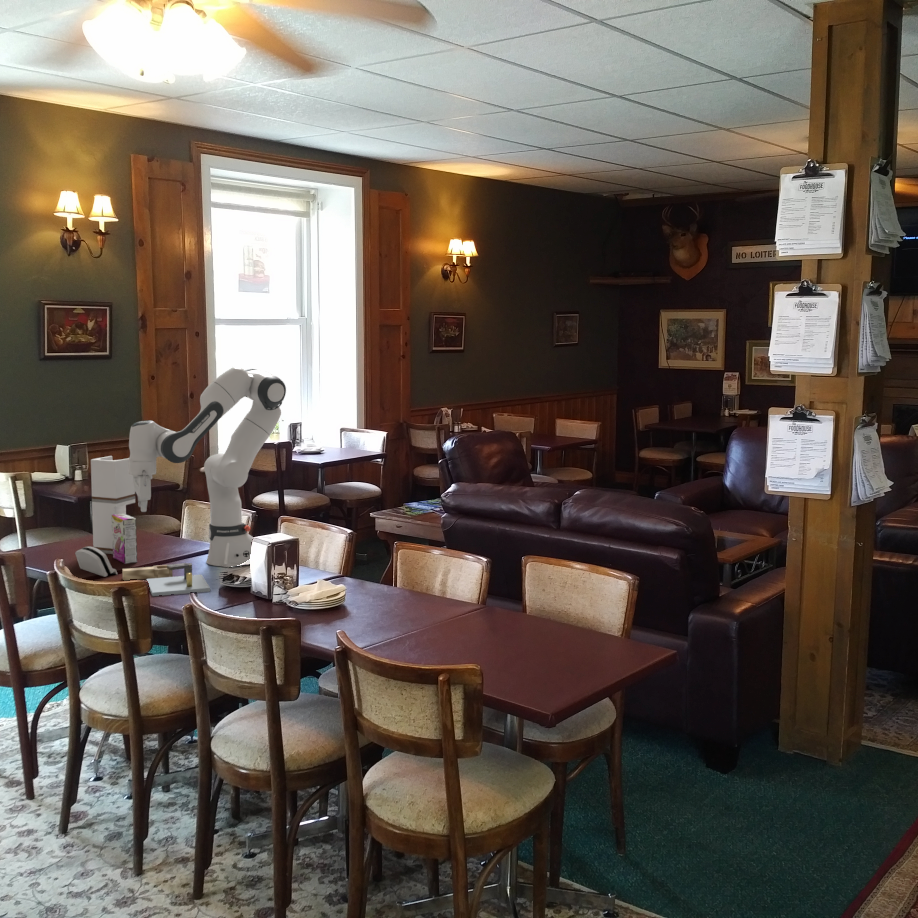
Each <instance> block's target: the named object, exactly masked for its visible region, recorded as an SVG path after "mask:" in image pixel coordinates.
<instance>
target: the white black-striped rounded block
mask: <svg viewBox="0 0 918 918" xmlns="http://www.w3.org/2000/svg"><path fill="white" fill-rule="evenodd" d="M74 554H75V557H76V560H77V563H78V566H79V569H80V570H84V571H87V572H89V573H93V574H95V575H98V576H100V577H108V576H109V574H114V575H118V572H117V569H116V568H113V567H112V565H111V562H110V560H109V559H108V556H107V553H103V552H102V551H100V550H99V549H97V548H94V547H93V546H84V547H82V548H80V549H77V550H76V551H75V553H74Z"/></svg>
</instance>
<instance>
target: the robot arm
mask: <svg viewBox="0 0 918 918" xmlns="http://www.w3.org/2000/svg"><path fill="white" fill-rule="evenodd" d="M286 393H287V387H286V384H285V382H284V381H283V380H282V379H281V378H279V377H278V376H276V375H273V374H271V373H269V372H267V371H261V370H258V369H254V368H250V369H245V370H244V369H243V368H241V367H238V366H234V367H232V368H230V369H228V370H226V371H225V372H223V373H222V374H221V375H219V376H218V377H216V378H215V379H214V380H213V381H212V382H210V384H208V385H207V387H206V388H205V389H204V390H203V391H202V393H201V394H200V398H199V403H200V410H199V412H198V413H197V415H196V416H195V417H194V418H193V419H192V420H191V421H190V422H189V423H188V424H187V425H186V426H185V427H184V428H183V429H181V430H180V431H174V430H172V429H168V428H165V427H163V426H161V425H159V424H158V423H156V422H155V421H153V420H151V419H150V420H140V421H137V422H134V423H133V424H132V425H131V426H130V430H129V439H128V440H129V441H128V449H129V457H128V458H129V474H131V475H133V482H134V489H135V495H136V496H137V502H138V503H137V505H138V508H140V511H141V513H146V512H147V510H148V509H147V508H148V501H150V500H151V497H152V487H151V486H152V485H151V484H152V481H151V480H153V475H157V458H159V457H160V458H161V457H162V458H163V459H166V460H168V461H169V462H171V463H173V464H181V463H184V462H186V461H188V459H190V458H191V456H193V455H192V454H193V453H194V451H195V449H196V446H197V445H198V444H199V442H200V441H201V439H203V437H204V436H206V434H207V433H208V432H209V431H210V430H211V429H212V428H213V427H214V426H215V425H216V424H217V423H218V421H219V420H220V419H221V418H223V416H225V415H226V414H227V413H228V412H229V411H231V409H232V408H233V407H234V406H235V405H236V404H238V402H239V401H240V400H242V399H243V398H248V399H250V400H252V404H251V408H250V410H249V411H248V413H246V415H245V416H244V418H243V419H242V420H241V422H240V424H239V425H238V426H237V427H236V429H235V431H234V432H233V433H232V435H231V437H230V441H229V444H228V446H227V449H226V450H225V452H224V453H215V454H211V455H210V456H209V457H208V458H207V459H206V460H205V462H204V464H203V470H204V473H205V477H206V478H205V479H206V486H207V492H208V498H209V499H208V500H209V511H210V512H209V513H210V514H209V515H210V517H209V519H210V523H209V526H208V538H209V549H208V554H207V558H206V561H205V563H206V564H208V565H210V566H215V567H225V568H229V567H231V566H237V565H240V564H242V563H244V562H246V561H247V560H249V559H250V554H251V542H252V539H253V538H254V537H253V535H252V534H249V533H248V532H250V531H251V526H250V525H247V524H245V523H243V522H242V521H243V520H242V519H243V512H242V509H243V507H242V504H243V503H242V499H241V496H240V493H239V488H242V486H243V485H245V483H246V482H247V480H248V477H249V472H250V470H251V468H252V465H253V463H254V461H255V459H256V457H257V455H258V453H259V451H260V450H261V449H262V447H263V445H264V444H265V443H266V442H267V440H268V439H269V438H270V436H271V434H272V433H273V431H274V429H275V428H276V426H277V425H278V422H279V420H280V418H281V415H282V410H281V408H280V407H281V406H282V404H283V401H284V399H285V397H286Z"/></svg>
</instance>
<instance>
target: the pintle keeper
mask: <svg viewBox="0 0 918 918" xmlns="http://www.w3.org/2000/svg"><path fill="white" fill-rule="evenodd" d="M166 565H167V569H169V570H172V571H176V570H182V569H183V576H184V580H186V583H187V587H192V575H193V564H192V562H183V563H182V562H181V563H173V564H172V563H171V564H166Z"/></svg>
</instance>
